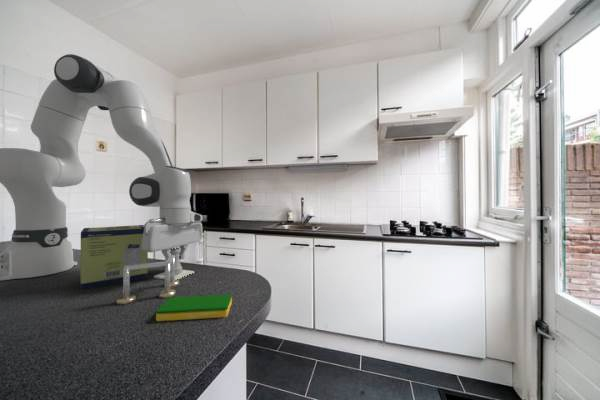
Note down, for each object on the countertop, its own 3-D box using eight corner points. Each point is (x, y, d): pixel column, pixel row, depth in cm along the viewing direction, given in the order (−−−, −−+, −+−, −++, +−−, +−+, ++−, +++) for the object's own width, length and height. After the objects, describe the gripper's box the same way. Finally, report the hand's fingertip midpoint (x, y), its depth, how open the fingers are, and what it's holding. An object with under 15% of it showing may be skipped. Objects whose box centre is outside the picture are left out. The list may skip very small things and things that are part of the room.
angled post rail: (112, 303, 54) (113, 266, 54) (169, 281, 69) (170, 252, 69) (142, 310, 51) (143, 271, 51) (196, 285, 66) (196, 255, 66)
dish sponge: (169, 307, 53) (169, 296, 53) (232, 304, 55) (232, 293, 55) (155, 323, 46) (155, 311, 46) (227, 319, 48) (227, 307, 48)
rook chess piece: (185, 271, 76) (185, 247, 76) (176, 276, 72) (176, 250, 72) (173, 270, 77) (173, 246, 77) (163, 274, 73) (163, 249, 73)
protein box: (82, 279, 70) (82, 227, 70) (144, 270, 80) (144, 224, 80) (79, 290, 62) (79, 231, 62) (148, 278, 72) (149, 227, 72)
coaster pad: (153, 277, 72) (153, 275, 72) (175, 270, 79) (175, 268, 79) (174, 280, 69) (174, 278, 69) (194, 273, 77) (194, 271, 77)
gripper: (153, 220, 63) (152, 271, 63) (205, 215, 83) (205, 254, 83) (136, 219, 65) (135, 268, 65) (191, 215, 85) (191, 253, 85)
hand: (175, 260), depth 74 cm, fingers open, 3 cm apart
